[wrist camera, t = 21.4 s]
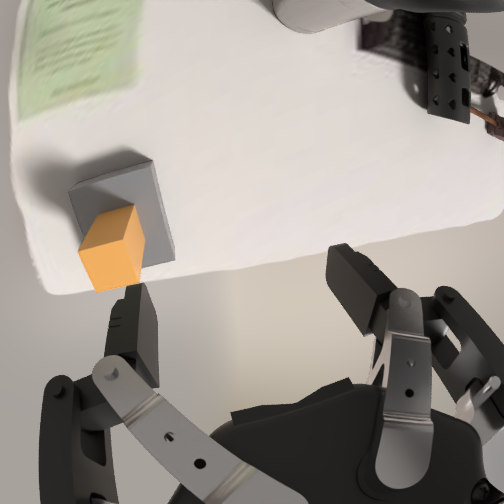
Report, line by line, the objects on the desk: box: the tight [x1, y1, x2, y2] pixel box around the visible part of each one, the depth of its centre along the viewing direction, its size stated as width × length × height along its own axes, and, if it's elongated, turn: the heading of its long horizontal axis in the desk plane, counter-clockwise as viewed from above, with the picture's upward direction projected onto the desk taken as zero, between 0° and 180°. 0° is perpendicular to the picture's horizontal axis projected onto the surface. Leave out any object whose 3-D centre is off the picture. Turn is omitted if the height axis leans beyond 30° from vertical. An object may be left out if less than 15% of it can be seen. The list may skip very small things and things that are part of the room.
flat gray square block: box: [68, 161, 175, 268], centre depth 34 cm, size 14×12×8 cm
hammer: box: [470, 106, 504, 141], centre depth 41 cm, size 7×33×10 cm, turn 87°
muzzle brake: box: [422, 12, 471, 124], centre depth 30 cm, size 10×28×10 cm, turn 3°
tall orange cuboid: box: [78, 204, 145, 292], centre depth 30 cm, size 5×5×10 cm
